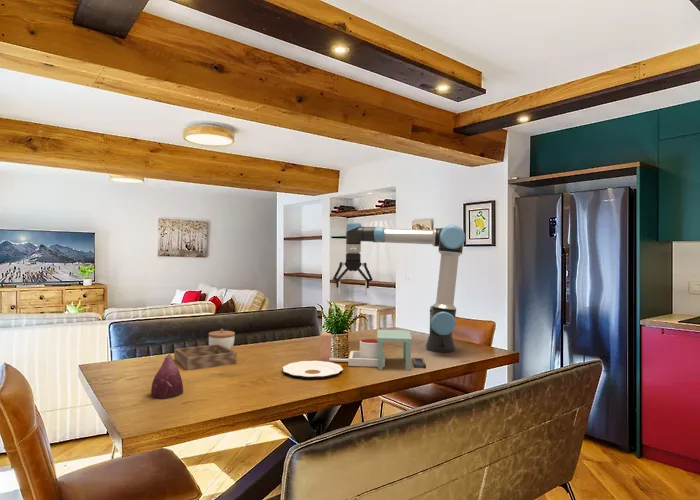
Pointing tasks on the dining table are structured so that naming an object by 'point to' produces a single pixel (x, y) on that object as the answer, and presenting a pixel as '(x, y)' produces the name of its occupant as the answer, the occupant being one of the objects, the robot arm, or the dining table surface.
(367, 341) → the cup
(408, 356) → the mint green stool
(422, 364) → the pit tray
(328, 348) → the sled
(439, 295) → the robot arm
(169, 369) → the vegetable
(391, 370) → the dining table surface
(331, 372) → the plate
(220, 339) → the lidded bowl
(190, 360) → the brown wooden tray
